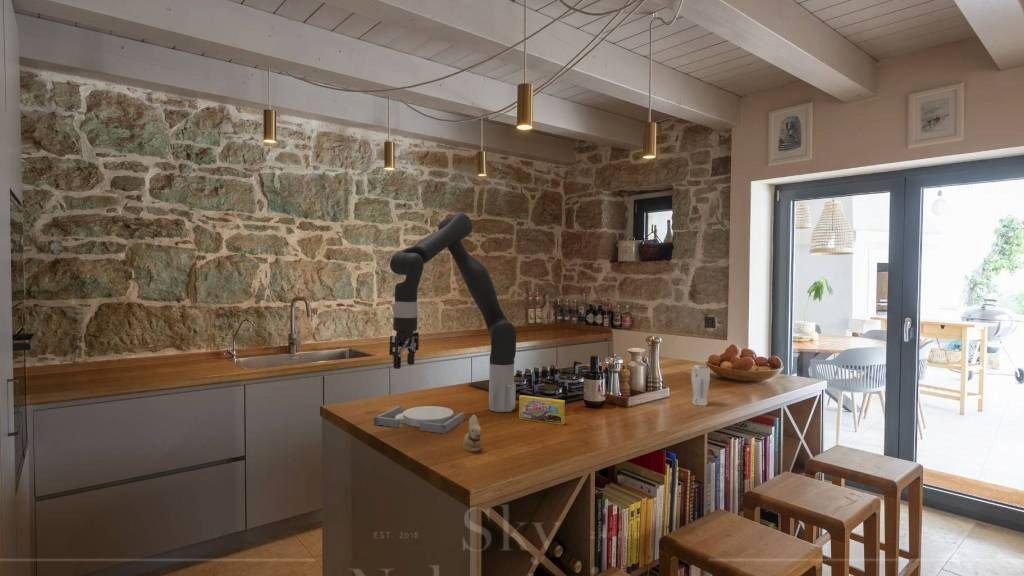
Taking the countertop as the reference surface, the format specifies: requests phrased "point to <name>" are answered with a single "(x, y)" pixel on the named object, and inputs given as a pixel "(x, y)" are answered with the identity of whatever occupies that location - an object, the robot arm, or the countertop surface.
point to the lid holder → (388, 420)
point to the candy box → (542, 409)
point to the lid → (425, 415)
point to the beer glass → (700, 384)
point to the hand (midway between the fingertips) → (404, 366)
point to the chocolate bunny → (473, 436)
